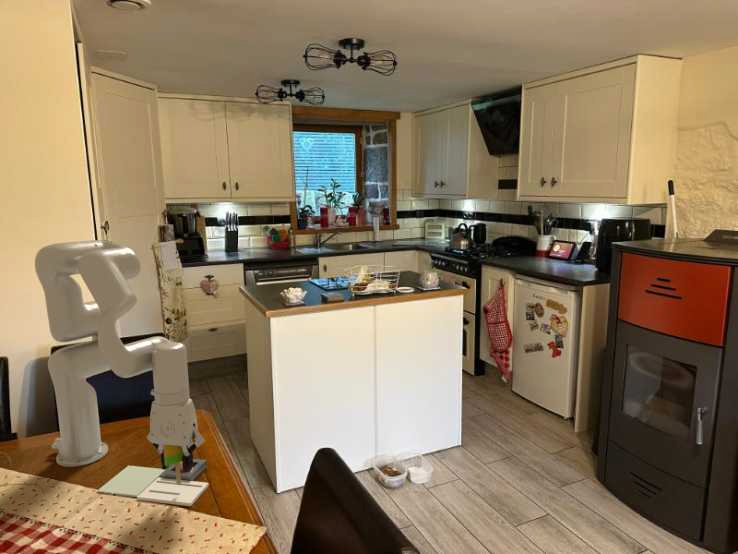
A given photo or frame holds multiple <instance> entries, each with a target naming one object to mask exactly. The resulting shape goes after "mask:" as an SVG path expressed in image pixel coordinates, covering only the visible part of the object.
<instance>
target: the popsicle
mask: <svg viewBox="0 0 738 554" xmlns="http://www.w3.org/2000/svg"><path fill="white" fill-rule="evenodd" d="M187 446H188V445H187ZM163 449H164V461H165V466H169V465H172V464H175V469H176V482H177V484H180V483H181V475H180V462H182V456H183V455H184V452H183V449H182V446H172V445H163Z"/></svg>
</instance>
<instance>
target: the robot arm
mask: <svg viewBox="0 0 738 554" xmlns="http://www.w3.org/2000/svg"><path fill="white" fill-rule="evenodd" d="M141 266H142V265H141V262H140V259H139V257H138V255H137V254H136V252H134V251H133V250H132V249H131V248H129V247H127V246H124V245H121V244H117V243H114V242H110V241H107V240H102V239H97V240H96V239H95V240H94V239H93V240H85V241H83V240H81V241H68V242H67V241H66V242H58V243H53V244H49V245H46V246H43V247H41V248H40V249H39V250H38V251H37V253H36V254H35V259H34V270H35V273H36V277H37V278H38V280H39V283H40V284H41V287H42V289H43V293H44V296H45V297H44V298H45V306H46V312H47V313H46V315H47V319H48V325H49V332H50V334H51V336H52V338H53V340H54V341H55V342H58V343H69V342H74V341H79V340H82V339H86V338H90V337H91V340H89V341H84V342H79V343H76V344H72V345H69V346H65V347H63V348H59V349H57V350H55V351H54V352H53V353H52V354H51V355H50V356H49V357H48V361H47V367H48V369H47V370H48V371H49V375H50V378H51V380H52V385H53V388H54V393H55V400H56V401H55V402H56V409H57V417H58V424H59V425H58V426H59V427H58V428H59V434H60V435H59V436H60V437H56V438H55V439H54V441H53V443H51V449H54V450H55V449H56V450H58V454H57V455H56V457H55V458H56V459H55V460H56V464H57V465H59V466H61V467H66V468H75V467H81V466H86V465H89V464H92V463H95V462H96V461H98V460H100V459H102V458H104V456H106V455H107V453H108V451H109V446H108V445H107V443H105V442H102V438H101V429H100V428H101V426H100V417H99V407H98V399H97V392H96V390H95V388H94V387H93V386H92V385H91V384H90V383H88V381H87V378H91V377H92V376H96V375H98V374H102V373H104V372H108V371H112V372H113V373H114V374H115V375H116V376H118V377H120V378H122V379H127V378H131V377H135V376H139V375H141V374H143V373H146V372H149V371H152V376H153V379H152V380H153V387H154V388H153V389H151V390H150V396H154V400H153V401H152V403H151V408H150V413H149V414H150V415H149V433H148V434H147V436H146V440H148V441H149V442H150V443H151V444H152V445H153V446H154V447H155V449H157V453H158V454H159V455H160V462H161V463H160V464H161V469H163V470H165V469H167V468H168V467H169V466H170V465H169V466H165V461H164V449H163V445H172V446H182V449H183V452H184V455H183V456H182V464H183V471H184V472H189V471H190V470H189V469H190V468H191V467H192V465H193V459H194V455H193V452H194V451H195V450H196V449H197V448H199V447H200V446H201V445H203V444H204V443H205V442H206V440H205V438H204V437H203V436H202V435H201V432H200V431H199V429H198V428H199V427H198V419H197V413H196V409H195V404H194V402H193V399H192V398H190V385H189V384H190V383H189V370H188V369H189V368H188V355H187V353H188V352H187V348H186V345H184V344H183V343H182V342H178V341H177V342H176V341H172V340H169V339H167V338H166V337H164V336H159V335H158V336H151V337H148V338H144V339H140V340H136V341H134V342H130V343H125V344H124V343H123V342H122V340H121V338H120V337H119V335H118V332H117V327H116V324H117V321H118V320H119V319H120V318H122V317H123V316H125V315H126V314H127V313H129V312H130V311H131V310H132V309H134V307H135V306H136V304H137V302H138V297H137V294H136V293H135V292H134V290H133V288H132V286H131V285H130V283H129V282H128V280H132V279H134V278H136V277H137V276H138V275H139V274H140V272H141ZM74 275H80V277H81V279H82V280H83V282H84V284H85V285H86V287H87V289H88V290H89V292H90V293H89V294H91V297H92V298H93V299H94V300H93V301H86V302H84V298H83V297H84V296H83V290H82V287H81V286H80V283H78V281H77V280H76V279H75V278H74V277H72V276H74ZM193 440H195V442H193ZM187 445H188V446H187ZM188 470H189V471H188Z"/></svg>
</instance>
